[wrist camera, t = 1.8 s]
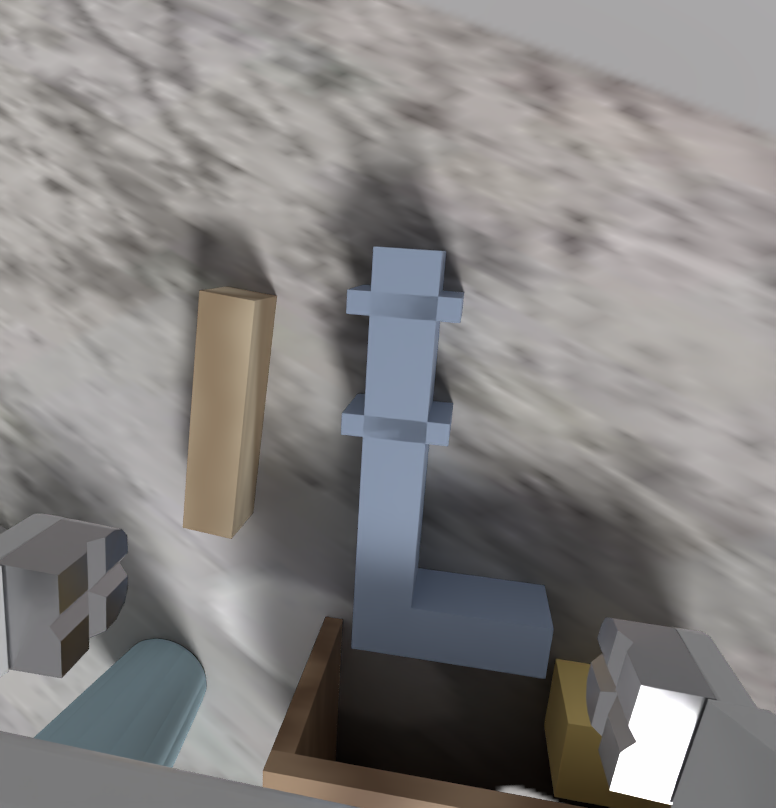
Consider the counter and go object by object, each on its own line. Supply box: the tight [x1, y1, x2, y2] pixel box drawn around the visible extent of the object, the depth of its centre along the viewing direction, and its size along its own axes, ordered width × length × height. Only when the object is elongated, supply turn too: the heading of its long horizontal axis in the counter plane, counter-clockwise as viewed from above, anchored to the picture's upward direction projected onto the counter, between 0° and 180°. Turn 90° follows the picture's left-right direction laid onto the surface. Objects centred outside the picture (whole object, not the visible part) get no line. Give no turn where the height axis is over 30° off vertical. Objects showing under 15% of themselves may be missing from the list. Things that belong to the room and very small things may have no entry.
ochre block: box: [544, 659, 671, 808], centre depth 29 cm, size 6×4×4 cm
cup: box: [34, 639, 207, 768], centre depth 30 cm, size 8×8×10 cm
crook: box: [341, 247, 554, 679], centre depth 27 cm, size 10×19×4 cm, turn 177°
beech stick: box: [183, 287, 277, 539], centre depth 28 cm, size 3×12×3 cm, turn 171°
